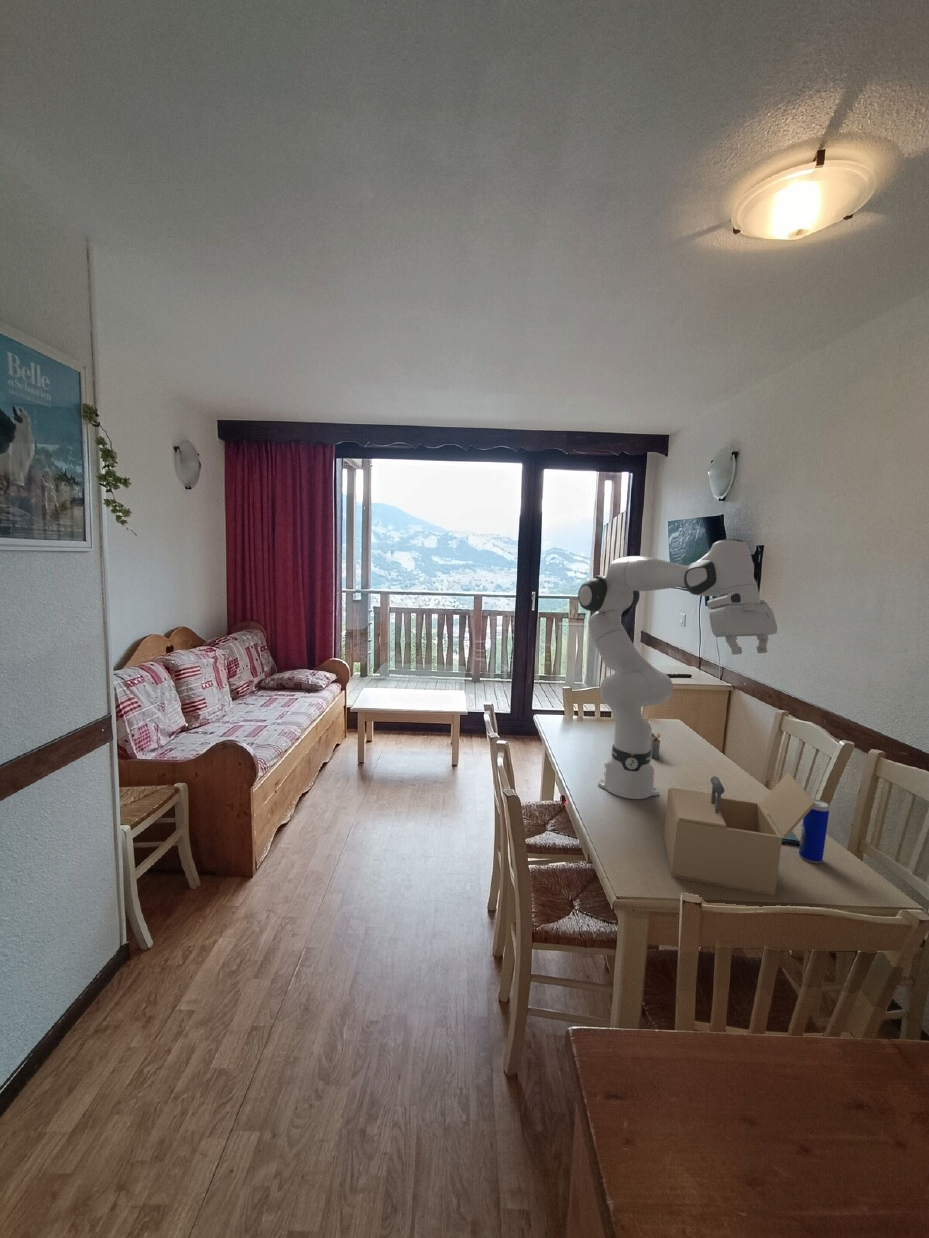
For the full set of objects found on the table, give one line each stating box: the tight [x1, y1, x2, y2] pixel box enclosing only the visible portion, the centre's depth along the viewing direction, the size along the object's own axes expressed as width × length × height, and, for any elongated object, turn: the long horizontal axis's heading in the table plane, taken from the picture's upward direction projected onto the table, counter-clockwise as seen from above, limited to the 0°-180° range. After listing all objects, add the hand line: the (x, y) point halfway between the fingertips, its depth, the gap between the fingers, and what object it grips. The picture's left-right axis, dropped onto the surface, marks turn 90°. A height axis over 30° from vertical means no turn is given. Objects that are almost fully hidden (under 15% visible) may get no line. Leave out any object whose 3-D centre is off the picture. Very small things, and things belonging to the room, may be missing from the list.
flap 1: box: [669, 775, 726, 827], centre depth 131 cm, size 17×10×7 cm, turn 165°
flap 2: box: [760, 772, 816, 838], centre depth 126 cm, size 17×10×1 cm
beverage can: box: [798, 798, 830, 864], centre depth 136 cm, size 5×5×15 cm
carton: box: [663, 788, 783, 897], centre depth 131 cm, size 18×22×14 cm
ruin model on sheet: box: [650, 731, 662, 760], centre depth 207 cm, size 11×3×10 cm, turn 178°
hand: (750, 653), depth 133 cm, fingers open, 8 cm apart
